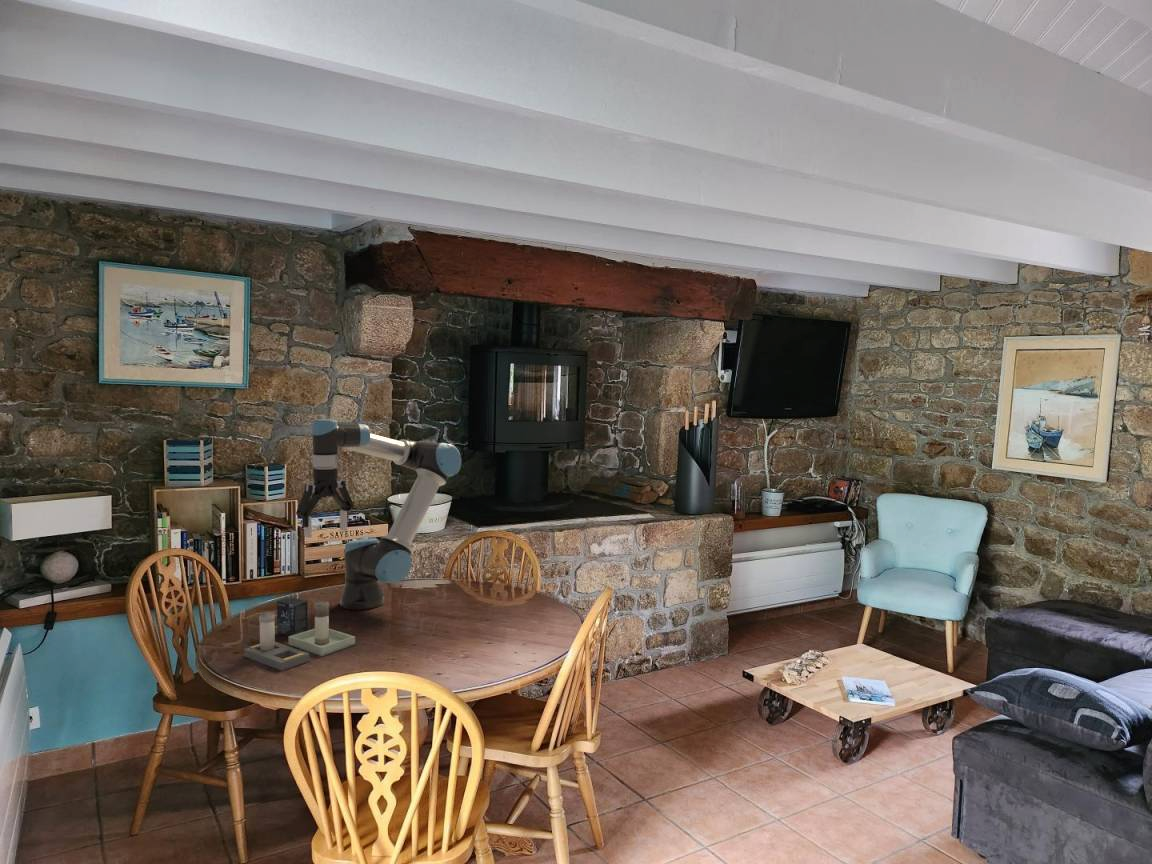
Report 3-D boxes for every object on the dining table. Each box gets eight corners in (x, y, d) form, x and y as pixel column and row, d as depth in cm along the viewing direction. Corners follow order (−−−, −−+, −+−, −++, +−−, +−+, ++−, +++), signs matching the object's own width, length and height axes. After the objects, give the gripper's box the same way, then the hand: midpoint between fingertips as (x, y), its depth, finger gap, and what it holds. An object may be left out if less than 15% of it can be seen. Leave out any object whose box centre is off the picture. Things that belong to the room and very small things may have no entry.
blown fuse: (323, 639, 237) (323, 600, 236) (332, 642, 235) (331, 603, 234) (311, 643, 234) (311, 604, 233) (320, 646, 231) (320, 606, 230)
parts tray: (288, 644, 234) (288, 636, 234) (322, 634, 244) (321, 626, 244) (321, 656, 225) (321, 647, 225) (355, 644, 235) (355, 636, 234)
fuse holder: (244, 656, 224) (244, 648, 224) (272, 647, 231) (272, 639, 231) (281, 670, 213) (281, 661, 213) (309, 661, 221) (309, 652, 221)
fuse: (269, 651, 228) (269, 611, 227) (278, 654, 225) (277, 614, 225) (256, 655, 224) (256, 615, 224) (265, 659, 222) (264, 617, 221)
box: (276, 633, 244) (276, 600, 243) (291, 628, 249) (291, 596, 248) (294, 638, 240) (293, 604, 239) (308, 633, 245) (308, 600, 244)
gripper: (349, 463, 259) (350, 526, 260) (283, 470, 238) (284, 538, 240) (364, 465, 254) (365, 528, 256) (298, 472, 234) (299, 541, 236)
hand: (326, 533), depth 248 cm, fingers open, 13 cm apart
